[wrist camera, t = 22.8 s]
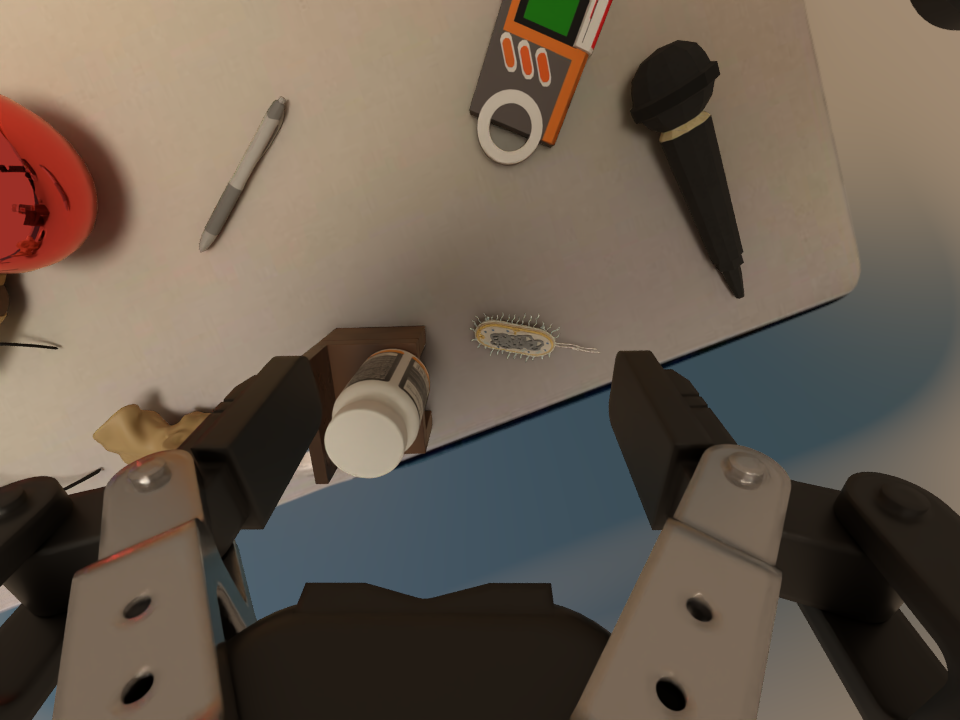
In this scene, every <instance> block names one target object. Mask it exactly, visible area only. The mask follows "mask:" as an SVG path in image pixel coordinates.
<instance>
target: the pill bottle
mask: <svg viewBox="0 0 960 720" xmlns="http://www.w3.org/2000/svg"><path fill="white" fill-rule="evenodd" d="M429 390H430V379H429V374H428V372H427V369H426V368H425V366H424V365H423V363H422V362H421V361H420V360H419V359H418V358H417V357H416V356H414V355H413V354H411V353H409V352H407V351H404V350H400V349H385V350H381V351H378V352H376V353H374V354H373V355H371V356H370V357H369V358H368V359H367V360H366V361H365V362H364V363H363V364H362V366H361V367H360V368H359V370H358V371H357V372H356V374H355V375H354V376H353V378H352V379H351V380H350V381H349V383H348V384H347V385H346V387H345V388H344V389H343V391H342V392H341V394H340V395H339V396H338V398H337V399H336V401H335V404H334V407H333V412H332V420H331V422H330V423H329V425H328V427H327V429H326V432H325V438H324V443H325V448H326V451H327V454H328V456H329V458H330V459H331V461H332V462H333V463H334V464H335V465H336V466H337V467H338V468H339V469H341V470H342V471H344V472H346V473H348V474H350V475H352V476H356V477H361V478H375V477H379V476H382V475H385V474H387V473H389V472H390V471H392V470H393V469H394V468H395V467H396V466H397V465H398V464H399V462H400V461H401V459H402V457H403V454H404V452H405V451H406V450H407V449H408V448H409V447H410V446H411V445H412V444H413V442H414V441H415V439H416V437H417V434H418V431H419V427H420V423H421V419H422V415H423V412H424V409H425V406H426V402H427V398H428V394H429Z"/></svg>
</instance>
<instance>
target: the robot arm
mask: <svg viewBox="0 0 960 720" xmlns="http://www.w3.org/2000/svg"><path fill="white" fill-rule="evenodd" d="M322 413H323V411H322V403H321V400H320V396H319V392H318V389H317V385H316V382H315V378H314V374H313V371H312V367H311V364H310V361H309V360H308V358H307V357H305V356H275V357H273V358H272V359H271V360H270V361H269V362H268V363H267V364H266V365H265V367H264V368H263V369H262V370H261V371H260V372H259V373H258V374H257V375H254V376H252V377H251V378H249V379H247V380H246V381H244V382H243V383H241V384H239V385H238V386H236V387H235V388H234V389H233V390H232V391H231V392H230V393H229V394H228V395H227V396H226V397H225V399H224V402H221V403H220V404H219V405H218V406H217V407H216V408H215V409H214V410H213V413H210V414H209V415H208V416H207V417H206V419H205V420H204V421H203V422H202V423H201V424H200V425H199V426H198V427H197V428H196V429H195V430H194V431H193V432H192V433H191V434H190V435H189V436H188V437H187V439H186V440H185V441H184V442H183V443H182V444H181V445H180V446H179V447H178V448H177V449H171V450H164V451H159V452H156V453H152V454H149V455H147V456H144V457H142V458H140V459H138V460H136V461H134V462H132V463H130V464H129V465H127V466H126V467H124V468H123V469H121V470H120V471H119V472H118V473H116V474H115V475H114V476H113V477H112V478H111V480H110V481H109V482H108V484H107V485H106V487H101V488H97V489H92V490H88V491H83V492H79V493H75V494H70V495H68V494H67V493H66V492H65V490H64V489H63V488H62V486H61V485H60V484H59V482H58V481H57V480H56V479H55V478H52V477H48V476H40V477H32V478H27V479H23V480H20V481H17V482H14V483H11V484H8V485H6V486H3V487H1V488H0V587H1V586H2V585H4V586H5V587H6V588H7V589H8V590H9V591H10V592H11V593H12V594H13V595H14V596H15V597H16V598H17V599H18V600H19V601H20V602H21V603H22V604H21V605H20V606H19V607H18V608H17V609H16V610H15V611H14V613H13V614H12V615H11V616H10V617H9V618H8V619H7V620H6V621H5V623H4V624H3V625H2V626H1V627H0V720H32V719H33V717H34V716H35V714H36V713H37V711H38V710H39V709H40V707H41V706H42V705H43V703H44V702H45V701H46V699H47V698H48V696H49V695H50V694H51V692H52V691H53V689H54V688H55V687H56V685H57V690H56V696H55V704H54V711H53V718H52V720H756V719H757V713H758V708H759V703H760V697H761V692H762V685H763V680H764V675H765V669H766V664H767V659H768V653H769V648H770V642H771V636H772V631H773V626H774V620H775V615H776V609H777V604H778V598H779V597H780V598H783V599H787V600H790V601H794V602H797V604H798V606H799V607H800V609H801V611H802V613H803V614H804V616H805V618H806V620H807V621H808V623H809V625H810V627H811V628H812V630H813V632H814V634H815V635H816V637H817V639H818V641H819V642H820V644H821V646H822V648H823V650H824V651H825V653H826V655H827V657H828V658H829V660H830V662H831V664H832V665H833V667H834V669H835V671H836V672H837V674H838V676H839V677H840V679H841V681H842V683H843V685H844V686H845V688H846V690H847V692H848V693H849V695H850V697H851V699H852V700H853V702H854V704H855V706H856V707H857V709H858V711H859V713H860V714H861V716H862V718H863V720H960V516H959V515H958V514H957V513H955V512H954V511H953V510H952V509H951V508H950V507H949V506H948V505H947V504H945V503H944V502H943V501H942V500H940V499H939V498H938V497H936V496H935V495H933V494H932V493H930V492H928V491H927V490H925V489H923V488H921V487H919V486H917V485H915V484H913V483H911V482H908V481H906V480H903V479H901V478H898V477H895V476H891V475H887V474H882V473H876V472H860V473H856V474H853V475H851V476H850V477H849V478H848V480H847V481H846V483H845V485H844V487H843V488H842V490H841V491H839V490H834V489H830V488H825V487H820V486H816V485H811V484H806V483H802V482H797V481H793V480H790V478H789V476H788V474H787V473H786V471H785V470H784V469H783V468H782V467H781V466H780V465H779V464H778V463H777V462H775V461H774V460H773V459H771V458H770V457H768V456H766V455H764V454H763V453H761V452H759V451H756V450H753V449H751V448H748V447H744V446H740V445H737V443H736V442H735V441H734V439H733V438H732V437H731V435H730V434H729V433H728V431H727V430H726V429H725V427H724V426H723V425H722V423H721V422H720V421H719V419H718V418H717V417H716V415H715V414H714V413H713V412H712V410H711V409H710V408H708V406H707V404H706V402H705V401H704V400H703V398H702V397H699V393H698V392H697V390H696V389H695V388H694V386H693V385H692V384H691V382H690V381H689V380H687V379H686V378H684V377H683V376H681V375H680V374H678V373H677V372H675V371H674V370H672V369H663V368H662V366H661V365H660V363H659V362H658V361H657V359H656V358H655V356H654V355H653V353H652V352H651V351H649V350H646V351H619V352H618V353H617V355H616V359H615V365H614V372H613V378H612V385H611V392H610V399H609V417H610V422H611V426H612V428H613V431H614V433H615V436H616V439H617V441H618V444H619V446H620V449H621V451H622V454H623V457H624V459H625V461H626V464H627V467H628V469H629V471H630V474H631V477H632V479H633V482H634V485H635V487H636V490H637V492H638V495H639V497H640V500H641V502H642V505H643V507H644V510H645V512H646V515H647V518H648V520H649V523H650V525H651V528H652V530H662V531H661V533H660V535H659V537H658V539H657V542H656V543H655V545H654V547H653V550H652V551H651V554H650V556H649V558H648V560H647V562H646V564H645V566H644V568H643V570H642V572H641V574H640V576H639V578H638V580H637V582H636V584H635V587H634V589H633V591H632V593H631V595H630V597H629V599H628V601H627V603H626V605H625V607H624V609H623V611H622V613H621V615H620V618H619V620H618V621H617V624H616V626H615V628H614V630H613V632H612V634H611V633H610V632H609V631H607V630H606V629H605V628H603V627H602V626H600V625H599V624H597V623H596V622H594V621H593V620H591V619H589V618H587V617H585V616H584V615H582V614H580V613H577V612H575V611H573V610H571V609H568V608H565V607H563V606H559V605H556V604H554V603H553V595H552V588H551V583H488V584H484V585H480V586H477V587H473V588H469V589H465V590H461V591H457V592H453V593H449V594H445V595H442V596H437V597H434V598H429V599H421V598H417V597H413V596H410V595H406V594H402V593H399V592H396V591H392V590H389V589H385V588H382V587H378V586H375V585H371V584H367V583H306V584H305V586H304V589H303V591H302V594H301V596H300V599H299V601H298V604H297V605H293V606H290V607H287V608H284V609H282V610H279V611H277V612H274V613H272V614H270V615H268V616H266V617H264V618H262V619H260V620H258V621H257V619H256V616H255V613H254V610H253V605H252V601H251V598H250V593H249V589H248V585H247V581H246V577H245V573H244V569H243V565H242V561H241V557H240V553H239V549H238V546H237V544H236V542H235V540H234V539H235V538H236V536H237V534H238V533H239V531H240V530H241V529H264V527H265V525H266V524H267V522H268V520H269V518H270V516H271V514H272V513H273V511H274V509H275V507H276V506H277V504H278V502H279V500H280V498H281V496H282V495H283V493H284V491H285V489H286V487H287V486H288V484H289V482H290V480H291V478H292V477H293V475H294V473H295V471H296V469H297V468H298V466H299V464H300V462H301V460H302V459H303V457H304V455H305V453H306V451H307V450H308V448H309V446H310V444H311V442H312V440H313V439H314V437H315V435H316V433H317V431H318V430H319V428H320V425H321V422H322ZM903 603H905V604H906V605H907V606H908V608H909V609H910V610H911V611H912V613H913V614H914V615H915V616H916V618H917V619H918V620H919V622H920V623H921V624H922V625H923V627H924V628H925V629H926V630H927V632H928V633H929V634H930V635H931V637H932V638H933V639H934V640H935V642H936V643H937V645H938V646H939V648H940V650H941V651H942V653H943V655H944V658H945V660H946V663H947V668H948V671H947V670H946V669H945V667H944V666H943V665H942V664H941V662H940V661H939V660H938V658H937V657H936V656H935V654H934V653H933V652H932V651H931V649H930V648H929V647H928V646H927V644H926V643H925V642H924V640H923V639H922V638H921V636H920V635H919V634H918V632H917V631H916V630H915V628H914V627H913V626H912V625H911V623H910V622H909V621H908V620H907V618H906V617H905V616H904V614H903V613H902V612H901V610H900V609H899V607H900V606H901V605H902V604H903Z"/></svg>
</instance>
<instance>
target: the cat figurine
mask: <svg viewBox="0 0 960 720" xmlns="http://www.w3.org/2000/svg"><path fill="white" fill-rule="evenodd" d="M209 414H210V413H202V412H199V411H196V412H192V413H189V414H187V415H185V416H183V418H182V419H181V421H180V422H179V423H177V424H175V425H171V426H170V425H169V424H168V423H167V422H166V421H165V420H163V418H162V417H161V416H160V415H159V414H158V413H157V412H155V411H149V410H141V409H140V408H139V406H138V405H136V404H132V405H128V406H125V407H123V408H121V409H120V410H118V411H117V412H116V413H115V414H114V415H112V416H111V417H110V418H109V419H108V420H107V421H106V422H105V423H104V424H103V425H102V426H101V427H100V428H99V429H98V430H97V431H96V432H95V433H94V434H93V438H94V439H95V440H96V441H97V442H99V443H100V444H102V446H103V447H104V448H105V449H106V450H107V451H110V452H114V453H117V454H119V455H120V456H121V458H122V460H123V461H124V462H125V463H127V464H130V463H132V462H134V461H136V460H138V459H140V458H142V457H144V456H147V455H149V454H152V453H156V452H159V451H164V450H171V449H177V448H178V447H179V446H180V445H181V444H182V443H183V442H184V441H185V440H186V439H187V437H188V436H189V435H190V434H191V433H192V432H193V431H194V430H195V429H196V428H197V427H198V426H199V425H200V424H201V423H202V422H203V421H204V420H205V419H206V417H207V416H208V415H209Z"/></svg>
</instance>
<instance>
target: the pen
mask: <svg viewBox="0 0 960 720" xmlns="http://www.w3.org/2000/svg"><path fill="white" fill-rule="evenodd" d="M284 103H285V98H284V97H282V96H281V97H280V98H279V99H278V100H275V101H274V102H273V103H272V105H271V106H270V108H269V109H268V111H267V113H266V115H265V117H264V118H263V120H262V122H261V124H260V126H259V128H258V130H257V132H256V134H255V135H254V137H253V139H252V141H251V143H250V145H249V147H248V149H247V150H246V152H245V154H244V156H243V158H242V160H241V162H240V164H239V166H238V167H237V169H236V171H235V173H234V175H233V177H232V178H231V180H230V181H229V183H228V185H227V187H226V189H225V191H224V192H223V194H222V196H221V198H220V200H219V202H218V204H217V206H216V207H215V209H214V211H213V213H212V215H211V217H210V219H209V221H208V223H207V224H206V226H205V229H204V231H203V234H202V236H201V239H200V243H199V250H200V252H203V251H205V250H206V249H207V248H209V247H210V245H211V244H212V243H213V241H214V240H215V239H216V237H217V235H219V233H220V231H221V229H222V227H223V225H224V224H225V222H226V220H227V218H228V216H229V214H230V213H231V211H232V209H233V207H234V205H235V203H236V201H237V200H238V198H239V196H240V194H241V192H242V190H243V189H244V186H245V184H246V182H247V180H248V178H249V176H250V174H251V173H252V171H253V169H254V167H255V165H256V163H257V162H258V161H259V160H260V159H261V157H262V156H263V155H264V153H265V152H266V151H267V149H268V148H269V146H270V145H271V143H272V142H273V140H274V138H275V136H276V135H277V133H278V131H279V129H280V127H281V125H282V122H283V119H284V109H285V106H284ZM274 130H275V131H274ZM273 132H274V133H273ZM272 134H273V135H272ZM271 136H272V137H271ZM270 138H271V139H270ZM269 139H270V141H269ZM268 141H269V143H268ZM267 143H268V144H267ZM266 145H267V146H266ZM265 147H266V148H265Z"/></svg>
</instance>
